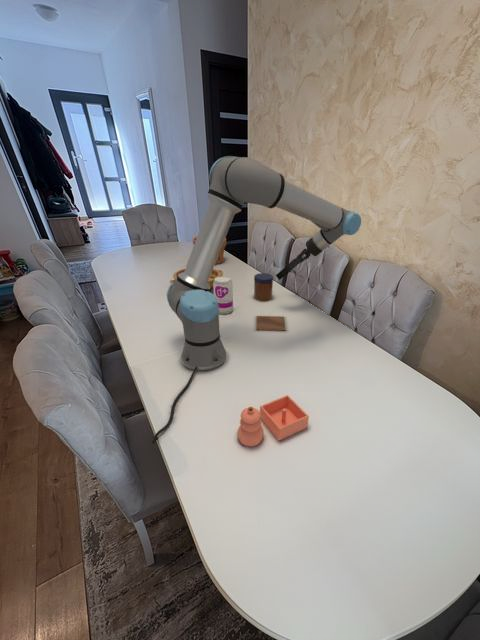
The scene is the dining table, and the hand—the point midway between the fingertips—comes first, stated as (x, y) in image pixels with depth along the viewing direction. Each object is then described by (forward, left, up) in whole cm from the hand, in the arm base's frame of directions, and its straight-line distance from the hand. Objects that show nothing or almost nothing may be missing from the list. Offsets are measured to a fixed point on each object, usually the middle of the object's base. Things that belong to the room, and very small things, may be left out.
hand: (282, 273), depth 144 cm
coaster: (-25, +6, -14) cm, 29 cm away
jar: (+3, +9, -14) cm, 17 cm away
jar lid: (+3, +9, -3) cm, 10 cm away
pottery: (-83, +8, -14) cm, 85 cm away
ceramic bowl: (+13, +43, -14) cm, 47 cm away
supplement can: (-13, +27, -14) cm, 33 cm away
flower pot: (+62, +43, -14) cm, 76 cm away
